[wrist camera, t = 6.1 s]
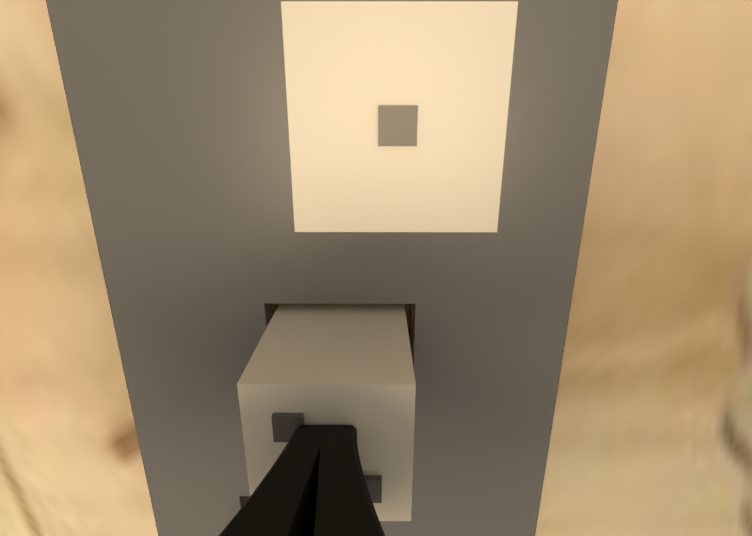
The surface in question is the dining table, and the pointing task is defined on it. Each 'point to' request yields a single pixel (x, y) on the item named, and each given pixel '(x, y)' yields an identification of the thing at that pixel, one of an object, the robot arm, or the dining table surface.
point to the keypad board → (323, 251)
